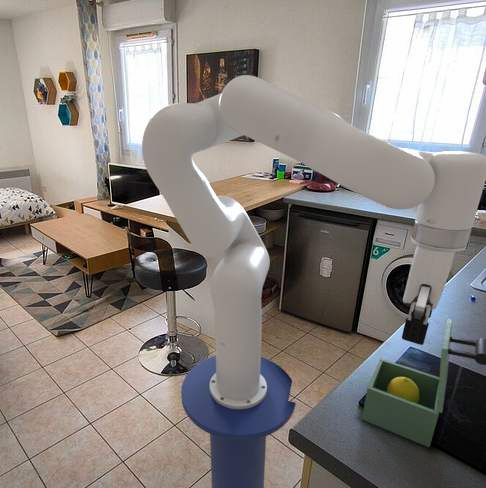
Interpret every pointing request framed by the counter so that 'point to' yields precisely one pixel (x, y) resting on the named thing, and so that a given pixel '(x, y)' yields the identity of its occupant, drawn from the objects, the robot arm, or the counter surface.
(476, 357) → the lid
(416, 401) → the lemon
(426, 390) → the box
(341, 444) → the counter surface
